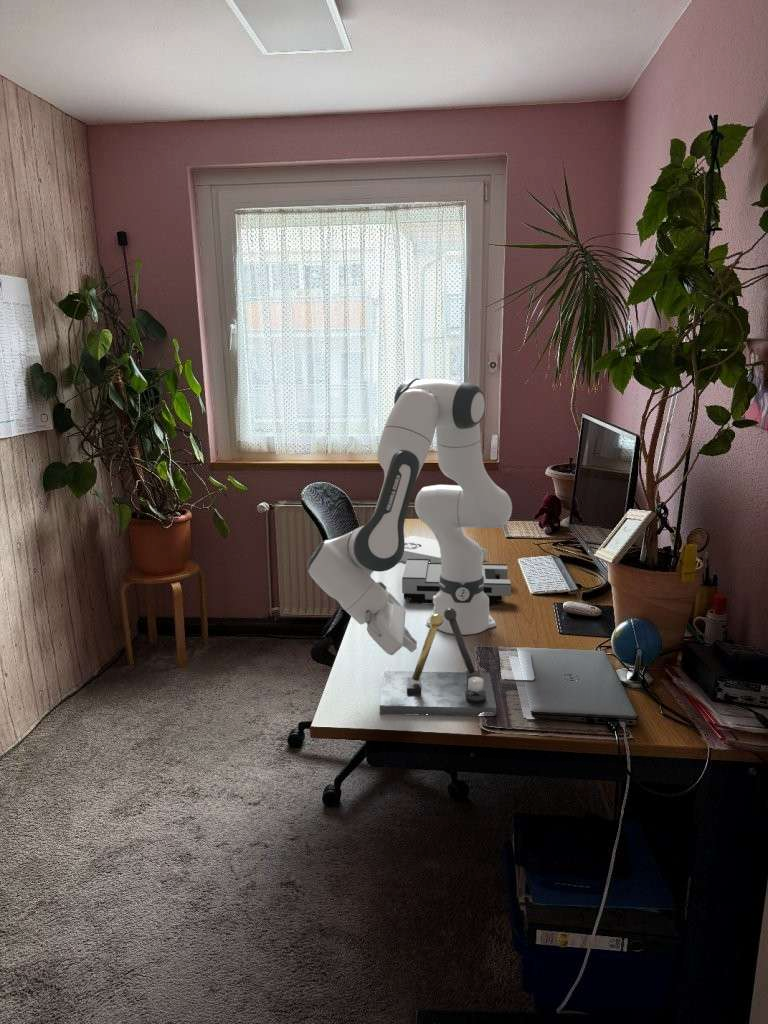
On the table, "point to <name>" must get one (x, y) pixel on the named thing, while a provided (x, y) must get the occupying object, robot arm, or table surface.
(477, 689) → the grey button
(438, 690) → the switch panel
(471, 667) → the black lever
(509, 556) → the table surface
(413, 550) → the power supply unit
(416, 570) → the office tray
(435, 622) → the brass lever
